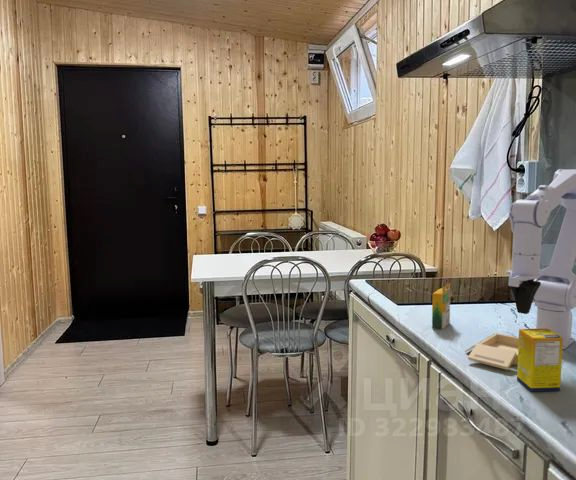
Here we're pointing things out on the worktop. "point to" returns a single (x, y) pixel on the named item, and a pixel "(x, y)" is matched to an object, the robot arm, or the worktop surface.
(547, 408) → the worktop surface
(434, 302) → the crayon box
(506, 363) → the flap
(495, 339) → the carton
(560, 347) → the supplement box
